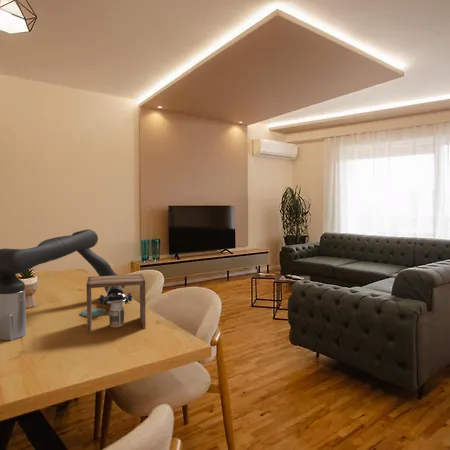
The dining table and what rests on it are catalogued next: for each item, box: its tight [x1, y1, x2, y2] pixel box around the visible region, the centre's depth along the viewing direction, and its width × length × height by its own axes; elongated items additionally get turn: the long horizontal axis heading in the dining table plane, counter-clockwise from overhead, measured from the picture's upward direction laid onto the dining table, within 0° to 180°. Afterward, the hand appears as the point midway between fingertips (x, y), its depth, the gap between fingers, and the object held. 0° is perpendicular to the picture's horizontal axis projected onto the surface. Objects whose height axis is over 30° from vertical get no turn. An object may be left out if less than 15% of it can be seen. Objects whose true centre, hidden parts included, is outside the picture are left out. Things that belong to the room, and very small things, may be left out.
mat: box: [79, 307, 107, 318], centre depth 162 cm, size 11×11×1 cm
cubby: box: [85, 273, 147, 335], centre depth 145 cm, size 14×22×20 cm, turn 108°
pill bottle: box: [108, 300, 125, 328], centre depth 146 cm, size 6×6×10 cm
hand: (116, 302), depth 157 cm, fingers open, 8 cm apart
